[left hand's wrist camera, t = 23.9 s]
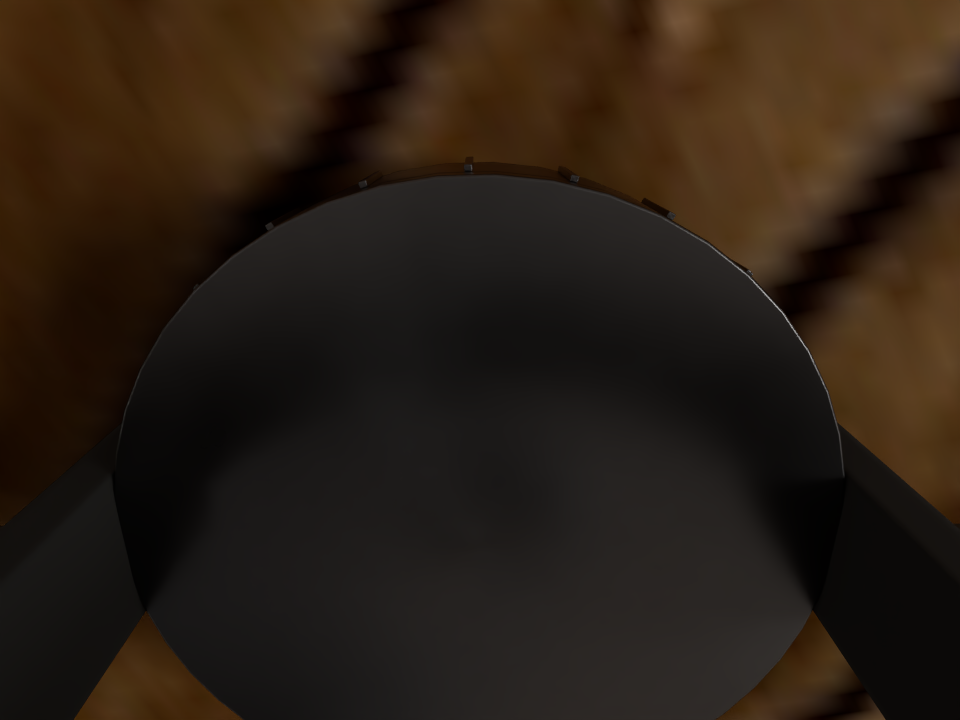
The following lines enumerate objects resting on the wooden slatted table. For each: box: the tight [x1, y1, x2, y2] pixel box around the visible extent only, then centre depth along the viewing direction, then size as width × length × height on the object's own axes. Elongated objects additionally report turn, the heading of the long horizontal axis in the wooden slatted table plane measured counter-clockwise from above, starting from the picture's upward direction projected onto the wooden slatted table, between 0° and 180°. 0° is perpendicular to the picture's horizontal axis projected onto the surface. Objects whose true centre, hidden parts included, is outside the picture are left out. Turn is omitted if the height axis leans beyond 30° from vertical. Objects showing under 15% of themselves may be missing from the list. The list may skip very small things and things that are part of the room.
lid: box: [114, 157, 845, 720], centre depth 11 cm, size 12×12×2 cm
